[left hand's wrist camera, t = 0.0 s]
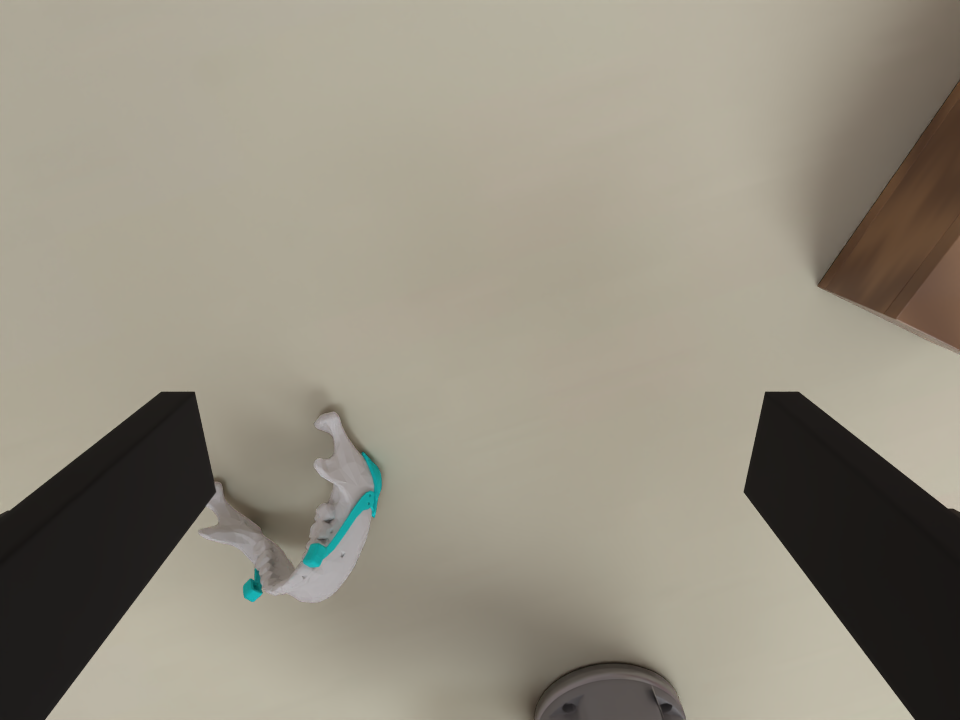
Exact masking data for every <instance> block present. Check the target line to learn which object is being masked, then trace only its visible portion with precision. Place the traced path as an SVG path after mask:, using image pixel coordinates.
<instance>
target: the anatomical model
mask: <svg viewBox="0 0 960 720" xmlns="http://www.w3.org/2000/svg"><path fill="white" fill-rule="evenodd" d="M314 425H315V427H316V428H317V429H319V430H322V431H326V432H328V433H330V434H331V436H332V437H333V440H334V453H333V455H332V456H331V457H330V458H327V459H322V458H317V459H316V460H315V461H314V468H315V469H316V471H317V472H318V473H319V474H320V476H321V477H323V478H325V479H326V480H328V481H330V482H332V483H333V490H332V493H331V496H330V499H329V502H328V503H322V504H320V505H319V506H318V507H317V509H316V515H315V518H314V519H315V521H316V522H315V523H314V524H313V525H312V526H311V528H310V535H309V538H311V540H309V541H308V542H307V544H306V549H307V551H306V552H305V553H304V554H303V557H302V559H303V561H301V562H300V564H299V565H298V566H297V568H296V569H295V568H294V566H293V565H292V563H291V561H290V560H289V559H288V558H287V557H286V555H285V553H284V551H283V550H282V549H281V548H280V547H279V546H278V545H277V544H275V543H274V542H273V541H271V540H270V539H269V538H267V537H265V536H264V535H263V533H262V530H261V528H260V527H259V526H258V525H256V524H255V523H254V522H252V521H251V520H250V519H248V518H247V517H246V516H244V515H243V514H241V513H240V512H238V511H237V510H235V509H234V508H233V507H232V506H231V505H230V504H229V503H228V502H227V500H226V499H225V496H224V493H223V486H222V484H221V483H220V482H214V483H215V488H216V493H215V495H214V496H213V497H212V499H211V500H210V501H209V503H208V504H207V505H206V507H208V508H210V509H211V510H212V511H213V512H214V513H215V514H216V515H217V517H218V521H219V522H218V524H217V525H216V526H213V527H208V528H204V529H200V530H198V533H199V535H201V536H202V537H204V538H205V539H208V540H212V541H216V542H219V543H224V544H228V545H232V546H235V547H237V548H238V549H239V550H241V551H242V552H243V553H244V554H245V555H246V556H247V557H248V558H249V559H250V560H251V561H252V562H253V564H254V565H255V576H254V578H255V581H254V580H253V579H249V580H248V581H247V582H246V583H245V584H244V586H243V594H244V598H246V599H248V600H249V601H251V602H254V601H255V600H256V599H257V598H259V597H260V596H261V595H262V593H263V592H262V590H261V588H262V586H263V589H264V590H265V592H267V593H269V594H272V595H279V594H282V595H283V594H285V593H287V594H289V595H291V596H293V597H294V598H296V599H297V600H299V601H300V602H311V603H316V602H320V601H323V600H325V599H327V598H329V597H330V596H331V595H332V594H334V593H335V592H336V591H337V590H338V589H339V588H340V586H341V585H342V584H343V583H344V581H345V580H346V579H347V577H348V576H349V574H350V573H351V571H352V570H353V568H354V567H355V565H356V562H357V560H358V558H359V556H360V553H361V551H362V549H363V546H364V544H365V542H366V539H367V535H368V532H369V527H370V522H371V516H372V517H374V518H375V514H376V509H377V502H378V497H379V494H380V491H381V487H382V478H381V473H380V470H379V469H378V467H377V466H376V465H375V464H374V463H373V462H372V461H371V459H370V458H369V457H368V456H367V455H366V454H365V453H364V452H362V454H360V452H359V451H358V450H357V449H356V448H355V446H354V445H353V444H352V442H351V441H350V439H349V438H348V436H347V434H346V432H345V430H344V428H343V426H342V424H341V421H340V417H339V415H338V414H337V413H336V412H334V411H333V412H329V413H324V414H322V415H320V416H319V418H318V419H317V420H316V421H315V423H314ZM318 539H319V540H318Z"/></svg>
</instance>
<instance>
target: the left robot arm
mask: <svg viewBox="0 0 960 720" xmlns="http://www.w3.org/2000/svg"><path fill="white" fill-rule="evenodd" d="M215 493H216V488H215V483H214V479H213V474H212V469H211V465H210V460H209V456H208V451H207V446H206V442H205V437H204V432H203V428H202V423H201V419H200V414H199V409H198V405H197V400H196V395H195V392H160V393H159V394H158V395H157V396H155V397H154V398H153V399H152V400H150V401H149V402H148V403H146V404H145V405H144V406H143V407H141V408H140V409H139V410H137V411H136V412H135V413H134V414H132V415H131V416H130V417H129V418H127V419H126V420H125V421H123V422H122V423H121V424H120V425H118V426H117V427H116V428H115V429H113V430H112V431H111V432H109V433H108V434H107V435H106V436H104V437H103V438H102V439H100V440H99V441H98V442H97V443H95V444H94V445H93V446H92V447H90V448H89V449H88V450H86V451H85V452H84V453H83V454H81V455H80V456H79V457H78V458H76V459H75V460H74V461H72V462H71V463H70V464H69V465H67V466H66V467H65V468H63V469H62V470H61V471H60V472H58V473H57V474H56V475H55V476H53V477H52V478H51V479H49V480H48V481H47V482H46V483H44V484H43V485H42V486H41V487H39V488H38V489H37V490H35V491H34V492H33V493H32V494H30V495H29V496H28V497H26V498H25V499H24V500H23V501H21V502H20V503H19V504H18V505H16V506H15V507H14V508H12V509H11V510H10V511H6V512H4V513H2V514H0V720H45V719H46V718H47V716H48V715H49V714H50V712H51V711H52V710H53V708H54V707H55V706H56V704H57V703H58V702H59V700H60V699H61V698H62V696H63V695H64V694H65V692H66V691H67V690H68V688H69V687H70V686H71V685H72V683H73V682H74V681H75V679H76V678H77V677H78V675H79V674H80V673H81V671H82V670H83V669H84V667H85V666H86V665H87V663H88V662H89V661H90V659H91V658H92V657H93V655H94V654H95V653H96V651H97V650H98V649H99V647H100V646H101V645H102V643H103V642H104V641H105V639H106V638H107V637H108V635H109V634H110V633H111V631H112V630H113V629H114V627H115V626H116V625H117V623H118V622H119V621H120V619H121V618H122V617H123V615H124V614H125V613H126V611H127V610H128V609H129V607H130V606H131V605H132V604H133V602H134V601H135V600H136V598H137V597H138V596H139V594H140V593H141V592H142V590H143V589H144V588H145V586H146V585H147V584H148V582H149V581H150V580H151V578H152V577H153V576H154V574H155V573H156V572H157V570H158V569H159V568H160V566H161V565H162V564H163V562H164V561H165V560H166V558H167V557H168V556H169V554H170V553H171V552H172V550H173V549H174V548H175V546H176V545H177V544H178V542H179V541H180V540H181V538H182V537H183V536H184V534H185V533H186V532H187V530H188V529H189V528H190V526H191V525H192V524H193V523H194V521H195V520H196V519H197V517H198V516H199V515H200V513H201V512H202V511H203V509H204V508H205V507H206V505H207V504H208V503H209V501H210V500H211V499H212V497H213V496H214V495H215ZM744 493H745V495H746V496H747V497H748V499H749V500H750V501H751V503H752V504H753V505H754V507H755V508H756V509H757V511H758V512H759V513H760V515H761V516H762V517H763V519H764V520H765V521H766V523H767V524H768V525H769V526H770V528H771V529H772V530H773V532H774V533H775V534H776V536H777V537H778V538H779V540H780V541H781V542H782V544H783V545H784V546H785V548H786V549H787V550H788V552H789V553H790V554H791V556H792V557H793V558H794V560H795V561H796V562H797V564H798V565H799V566H800V568H801V569H802V570H803V572H804V573H805V574H806V576H807V577H808V578H809V580H810V581H811V582H812V584H813V585H814V586H815V588H816V589H817V590H818V592H819V593H820V594H821V596H822V597H823V598H824V600H825V601H826V602H827V604H828V605H829V606H830V607H831V609H832V610H833V611H834V613H835V614H836V615H837V617H838V618H839V619H840V621H841V622H842V623H843V625H844V626H845V627H846V629H847V630H848V631H849V633H850V634H851V635H852V637H853V638H854V639H855V641H856V642H857V643H858V645H859V646H860V647H861V649H862V650H863V651H864V653H865V654H866V655H867V657H868V658H869V659H870V661H871V662H872V663H873V665H874V666H875V667H876V669H877V670H878V671H879V673H880V674H881V675H882V677H883V678H884V679H885V681H886V682H887V683H888V685H889V686H890V687H891V688H892V690H893V691H894V692H895V694H896V695H897V696H898V698H899V699H900V700H901V702H902V703H903V704H904V706H905V707H906V708H907V710H908V711H909V712H910V714H911V715H912V716H913V718H914V719H915V720H960V512H958V511H957V510H955V509H948V508H946V507H945V506H944V505H942V504H941V503H940V502H939V501H937V500H936V499H935V498H934V497H932V496H931V495H930V494H928V493H927V492H926V491H925V490H923V489H922V488H921V487H919V486H918V485H917V484H916V483H914V482H913V481H912V480H911V479H909V478H908V477H907V476H905V475H904V474H903V473H902V472H900V471H899V470H898V469H897V468H895V467H894V466H893V465H891V464H890V463H889V462H888V461H886V460H885V459H884V458H882V457H881V456H880V455H879V454H877V453H876V452H875V451H874V450H872V449H871V448H870V447H868V446H867V445H866V444H865V443H863V442H862V441H861V440H860V439H858V438H857V437H856V436H854V435H853V434H852V433H851V432H849V431H848V430H847V429H845V428H844V427H843V426H842V425H840V424H839V423H838V422H837V421H835V420H834V419H833V418H831V417H830V416H829V415H828V414H826V413H825V412H824V411H823V410H821V409H820V408H819V407H817V406H816V405H815V404H814V403H812V402H811V401H810V400H808V399H807V398H806V397H805V396H803V395H802V394H801V393H800V392H765V395H764V400H763V405H762V409H761V414H760V419H759V423H758V428H757V432H756V437H755V442H754V446H753V451H752V456H751V460H750V465H749V469H748V474H747V479H746V483H745V488H744ZM535 720H686V717H685V714H684V711H683V708H682V705H681V703H680V700H679V697H678V695H677V693H676V691H675V689H674V688H673V687H672V686H671V684H670V683H669V682H668V681H666V680H665V679H664V678H663V677H661V676H660V675H658V674H656V673H654V672H652V671H650V670H648V669H645V668H642V667H638V666H634V665H628V664H600V665H594V666H589V667H585V668H582V669H579V670H576V671H574V672H571V673H569V674H567V675H565V676H563V677H562V678H560V679H559V680H557V681H556V682H555V683H553V684H552V685H551V686H550V687H549V688H548V689H547V690H546V691H545V692H544V693H543V695H542V696H541V698H540V700H539V701H538V704H537V706H536V710H535Z"/></svg>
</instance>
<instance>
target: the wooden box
mask: <svg viewBox="0 0 960 720" xmlns="http://www.w3.org/2000/svg"><path fill="white" fill-rule="evenodd" d="M818 287H820V288H822V289H824V290H826V291H828V292H830V293H832V294H834V295H836V296H838V297H840V298H842V299H844V300H846V301H848V302H850V303H852V304H854V305H856V306H858V307H860V308H863V309H865V310H867V311H869V312H871V313H873V314H875V315H877V316H879V317H881V318H883V319H885V320H887V321H889V322H891V323H893V324H895V325H897V326H899V327H901V328H904V329H906V330H908V331H910V332H912V333H914V334H916V335H918V336H920V337H922V338H924V339H926V340H928V341H930V342H932V343H935V344H937V345H939V346H942V347H944V348H946V349H948V350H951V351H953V352H955V353H957V354H960V81H959V82H958V84H957V85H956V87H955V88H954V90H953V91H952V92H951V94H950V95H949V97H948V98H947V100H946V101H945V103H944V104H943V105H942V107H941V108H940V110H939V111H938V113H937V114H936V116H935V117H934V118H933V120H932V121H931V123H930V124H929V126H928V127H927V129H926V130H925V131H924V133H923V134H922V136H921V137H920V139H919V140H918V142H917V143H916V144H915V146H914V147H913V149H912V150H911V152H910V153H909V155H908V156H907V157H906V159H905V160H904V162H903V163H902V165H901V166H900V168H899V169H898V170H897V172H896V173H895V175H894V176H893V178H892V179H891V180H890V182H889V183H888V185H887V186H886V188H885V189H884V191H883V192H882V193H881V195H880V196H879V198H878V199H877V201H876V202H875V204H874V205H873V206H872V208H871V209H870V211H869V212H868V214H867V215H866V217H865V218H864V219H863V221H862V222H861V224H860V225H859V227H858V228H857V230H856V231H855V232H854V234H853V235H852V237H851V238H850V240H849V241H848V243H847V244H846V245H845V247H844V248H843V250H842V251H841V253H840V254H839V256H838V257H837V258H836V260H835V261H834V263H833V264H832V266H831V267H830V269H829V270H828V271H827V273H826V274H825V276H824V277H823V279H822V280H821V282H820V283H819V284H818Z"/></svg>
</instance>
